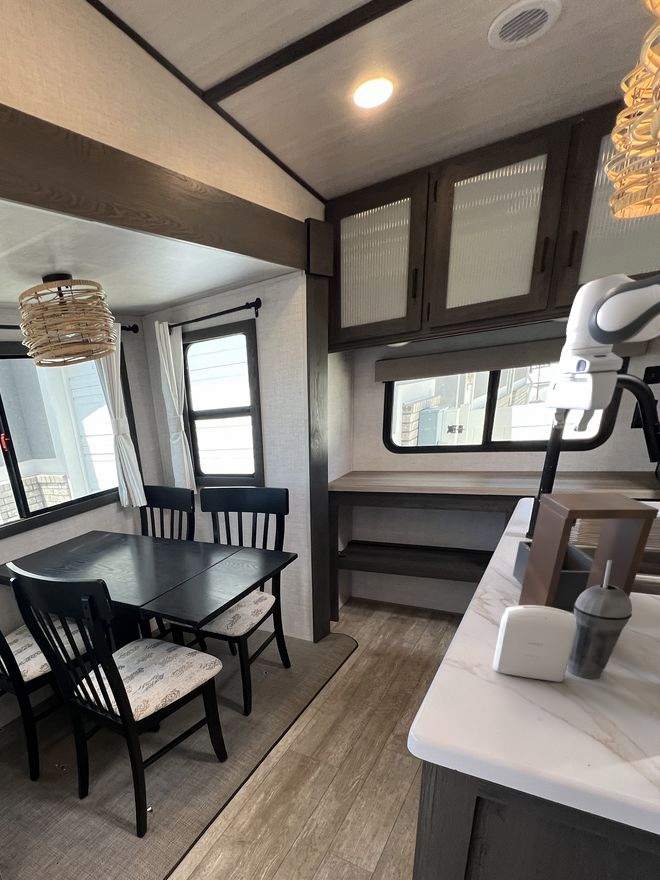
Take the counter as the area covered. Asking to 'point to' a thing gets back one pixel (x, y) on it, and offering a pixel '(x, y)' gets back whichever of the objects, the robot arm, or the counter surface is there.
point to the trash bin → (570, 576)
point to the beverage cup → (598, 627)
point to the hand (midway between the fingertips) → (568, 429)
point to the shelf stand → (617, 543)
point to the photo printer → (535, 642)
